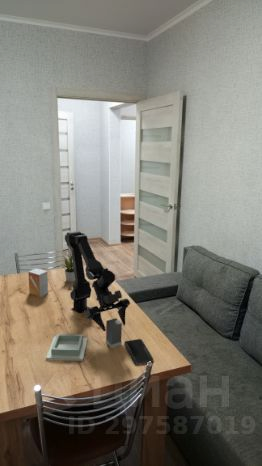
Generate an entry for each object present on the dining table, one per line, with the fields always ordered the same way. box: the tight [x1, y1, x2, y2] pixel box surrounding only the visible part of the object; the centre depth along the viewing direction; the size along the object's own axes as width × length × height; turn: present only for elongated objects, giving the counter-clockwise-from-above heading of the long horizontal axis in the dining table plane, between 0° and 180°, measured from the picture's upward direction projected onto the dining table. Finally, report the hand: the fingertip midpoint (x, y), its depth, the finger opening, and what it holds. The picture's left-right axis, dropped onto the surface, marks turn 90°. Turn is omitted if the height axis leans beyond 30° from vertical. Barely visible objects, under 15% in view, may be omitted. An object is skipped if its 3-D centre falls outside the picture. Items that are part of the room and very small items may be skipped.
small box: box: [27, 267, 49, 298], centre depth 177 cm, size 8×6×13 cm
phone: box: [123, 338, 154, 366], centre depth 131 cm, size 8×1×15 cm
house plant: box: [59, 253, 84, 283], centre depth 196 cm, size 14×14×16 cm
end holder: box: [45, 333, 88, 362], centre depth 131 cm, size 14×14×4 cm
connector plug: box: [105, 317, 123, 349], centre depth 135 cm, size 5×5×10 cm
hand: (114, 327), depth 133 cm, fingers open, 9 cm apart
